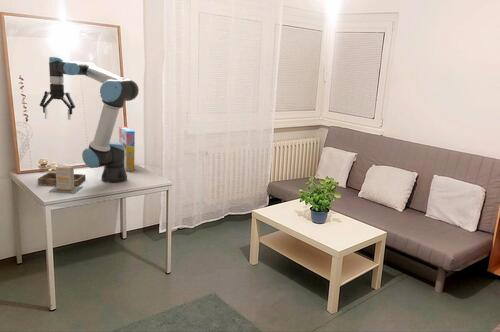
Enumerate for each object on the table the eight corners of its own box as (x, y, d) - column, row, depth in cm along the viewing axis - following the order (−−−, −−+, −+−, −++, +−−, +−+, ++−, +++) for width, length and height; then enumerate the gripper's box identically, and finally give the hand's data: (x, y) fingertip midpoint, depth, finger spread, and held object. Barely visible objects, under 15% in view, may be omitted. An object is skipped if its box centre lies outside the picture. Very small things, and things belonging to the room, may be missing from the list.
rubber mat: (82, 187, 243) (82, 186, 243) (74, 193, 232) (74, 192, 232) (57, 186, 242) (57, 185, 242) (48, 192, 231) (48, 191, 231)
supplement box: (74, 188, 239) (74, 165, 236) (70, 190, 234) (69, 167, 231) (60, 187, 239) (59, 164, 236) (56, 189, 235) (55, 166, 232)
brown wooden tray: (85, 180, 258) (85, 174, 257) (77, 186, 244) (77, 180, 243) (48, 178, 256) (48, 172, 255) (38, 184, 243) (37, 178, 242)
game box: (134, 171, 286) (134, 131, 280) (126, 171, 283) (126, 131, 277) (126, 164, 303) (126, 126, 297) (118, 164, 300) (118, 126, 294)
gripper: (80, 84, 258) (81, 119, 263) (38, 81, 256) (39, 116, 261) (76, 85, 250) (76, 121, 255) (32, 82, 249) (34, 118, 254)
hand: (58, 119), depth 258 cm, fingers open, 13 cm apart
